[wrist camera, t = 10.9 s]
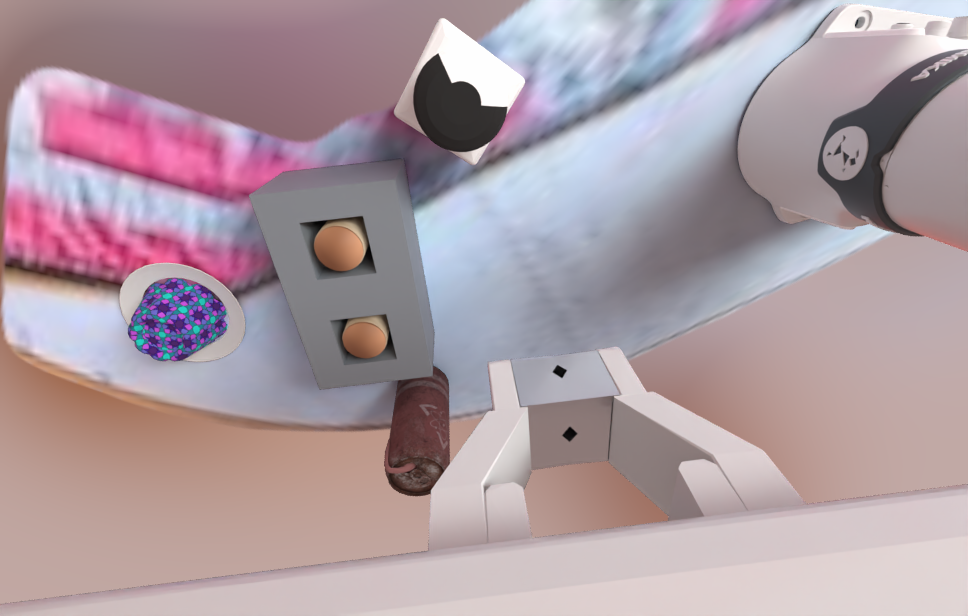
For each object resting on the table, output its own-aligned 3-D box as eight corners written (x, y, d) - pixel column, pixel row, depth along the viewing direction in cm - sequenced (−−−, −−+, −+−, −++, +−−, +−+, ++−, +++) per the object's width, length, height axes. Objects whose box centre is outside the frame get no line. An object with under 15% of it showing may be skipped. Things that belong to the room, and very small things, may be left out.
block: (403, 158, 40) (394, 179, 33) (434, 331, 49) (432, 376, 42) (283, 171, 39) (248, 195, 32) (337, 343, 49) (319, 389, 42)
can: (401, 357, 51) (387, 451, 38) (454, 367, 52) (456, 460, 40) (391, 396, 53) (375, 495, 41) (442, 404, 55) (441, 502, 43)
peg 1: (371, 197, 41) (357, 223, 34) (380, 237, 43) (369, 269, 36) (328, 201, 40) (306, 228, 34) (340, 242, 42) (321, 274, 36)
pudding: (115, 249, 42) (75, 272, 38) (247, 271, 44) (224, 296, 40) (132, 349, 48) (99, 379, 43) (249, 364, 50) (229, 395, 45)
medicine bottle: (470, 151, 40) (478, 183, 29) (400, 105, 38) (382, 123, 27) (514, 77, 37) (540, 83, 27) (441, 23, 35) (439, 7, 24)
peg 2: (390, 282, 45) (381, 320, 39) (398, 315, 47) (390, 356, 41) (352, 287, 45) (336, 325, 38) (361, 319, 47) (347, 361, 40)
